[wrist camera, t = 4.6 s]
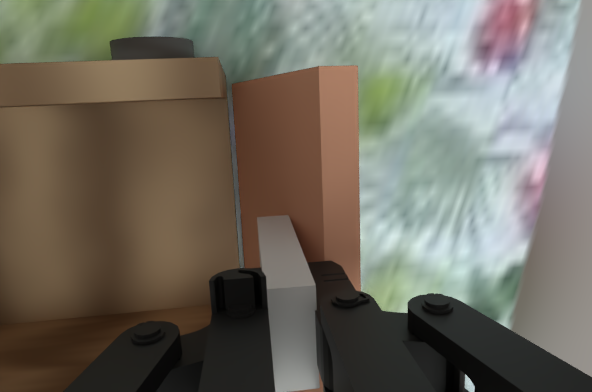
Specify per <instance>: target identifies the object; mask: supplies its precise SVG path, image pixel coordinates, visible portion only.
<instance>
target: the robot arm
mask: <svg viewBox="0 0 592 392" xmlns="http://www.w3.org/2000/svg"><path fill="white" fill-rule="evenodd" d="M257 225H258V240H259V256H260V268H237V269H230V270H226V271H222V272H219V273H217V274H216V275H214V276H212V277H211V279H210V280H209V289H210V300H211V311H212V316H211V321H210V324H209V325H208V326H206V327H204V328H202V329H200V330H198V331H195V332H192V333H188V334H185V335H181V336H180V330H179V328H178V326H177V325H175V324H173V323H171V322H166V321H146V323H145V322H142V323H139V324H137V325H136V326H133V327H131V328H129V329H127V330H126V331H124V332H123V333H121V334H120V335H119V336H118V337H117V338H116V339H115V340H114V341H113V342H112V343H111V344H110V345H109V346H108V347H107V348H106V349H105V350H104V351H103V352H102V353H101V354H100V355H99V356H98V357H97V358H96V359H95V360H94V361H93V362H92V363H91V364H90V365H89V366H88V367H87V368H86V369H85V370H84V371H83V372H82V373H81V374H80V375H79V376H78V377H77V378H76V379H75V380H74V381H73V382H72V383H71V384H70V385H69V386H68V387H67V388H66V389H65V390H64V391H63V392H287V391H289V392H290V391H299V390H308V389H317V388H320V383H319V373H320V376H321V380H322V382H323V392H469V391H468V390H466V389H465V388H464V386H465V374H466V375H467V376H468V377H469V378H470V379H471V381H472V383H473V384H474V386H475V392H592V377H590V376H589V375H587V374H585V373H583V372H582V371H580V370H578V369H576V368H575V367H573V366H571V365H570V364H568V363H566V362H564V361H563V360H561V359H559V358H558V357H556V356H554V355H552V354H550V353H549V352H547V351H545V350H544V349H542V348H540V347H539V346H537V345H535V344H533V343H532V342H530V341H528V340H527V339H525V338H523V337H521V336H520V335H518V334H516V333H514V332H513V331H511V330H509V329H508V328H506V327H504V326H502V325H501V324H499V323H497V322H496V321H494V320H492V319H490V318H489V317H487V316H485V315H483V314H482V313H480V312H478V311H477V310H475V309H473V308H471V307H470V306H468V305H466V304H465V303H463V302H461V301H459V300H457V299H454V298H452V297H448V296H444V295H442V294H435V295H434V293H431V294H427V295H419V296H417V297H414V298H412V299H411V300H410V301H409V302H408V313H397V312H387V311H382V310H381V309H380V307H379V306H378V304H377V303H376V301H375V300H374V298H372V297H371V296H370V295H369V294H366V293H364V292H361V291H356V290H355V288H354V286H353V285H352V283H351V281H350V280H349V278H348V276H347V274H346V273H345V271H344V269H343V268H342V266H341V265H339V264H337V263H335V262H333V261H320V262H308V263H307V261H306V259H305V256H304V254H303V251H302V248H301V246H300V243H299V241H298V238H297V236H296V233H295V231H294V228H293V225H292V223H291V220H290V218H289V216H288V215H281V216H266V217H257Z"/></svg>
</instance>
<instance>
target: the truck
mask: <svg viewBox="0 0 592 392" xmlns="http://www.w3.org/2000/svg"><path fill="white" fill-rule="evenodd" d="M110 48H111V56H112V60H107V61H76V62H44V63H13V64H0V392H63V391H64V390H65V389H66V388H67V387H68V386H69V385H70V384H71V383H72V382H73V381H74V380H75V379H76V378H77V377H78V376H79V375H80V374H81V373H82V372H83V371H84V370H85V369H86V368H87V367H88V366H89V365H90V364H91V363H92V362H93V361H94V360H95V359H96V358H97V357H98V356H99V355H100V354H101V353H102V352H103V351H104V350H105V349H106V348H107V347H108V346H109V345H110V344H111V343H112V342H113V341H114V340H115V339H116V338H117V337H118V336H119V335H120V334H121V333H123V332H124V331H126V330H127V329H129V328H131V327H133V326H136V325H137V324H139V323H142V322H145V323H146V321H166V322H171V323H173V324H175V325H177V326H178V328H179V330H180V336H181V335H185V334H188V333H192V332H195V331H198V330H200V329H202V328H204V327H206V326H208V325H209V324H210V321H211V316H212V311H211V300H210V289H209V280H210V279H211V277H212V276H214V275H216V274H217V273H219V272H222V271H226V270H230V269H237V268H240V264H239V251H238V237H237V223H236V210H235V196H234V183H233V169H232V155H231V142H230V128H229V114H228V101H227V87H226V76H225V73H224V71H223V68H222V66H221V63H220V61H219V58H218V57H200V58H194V49H193V41H192V40H189V39H184V38H174V37H132V38H122V39H116V40H112V41H110Z"/></svg>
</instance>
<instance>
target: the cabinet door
mask: <svg viewBox="0 0 592 392" xmlns="http://www.w3.org/2000/svg"><path fill="white" fill-rule="evenodd" d="M232 97H233V111H234V125H235V139H236V153H237V167H238V181H239V196H240V210H241V224H242V238H243V252H244V266H245V268H260V256H259V240H258V225H257V217H266V216H281V215H288V216H289V218H290V220H291V223H292V225H293V228H294V231H295V233H296V236H297V238H298V241H299V243H300V246H301V248H302V251H303V254H304V256H305V259H306V261H307V263H308V262H320V261H333V262H335V263H337V264H339V265H341V266H342V268H343V269H344V271H345V273H346V274H347V276H348V278H349V280H350V281H351V283H352V285H353V286H354V288H355V290H356V291H361V285H360V206H359V126H358V66H318V67H313V68H308V69H303V70H298V71H294V72H289V73H284V74H279V75H274V76H269V77H264V78H259V79H254V80H249V81H244V82H239V83H235V84H232ZM319 383H320V388H317V389H308V390H299V391H291V392H323V382H322V380H321V376H320V373H319Z"/></svg>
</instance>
